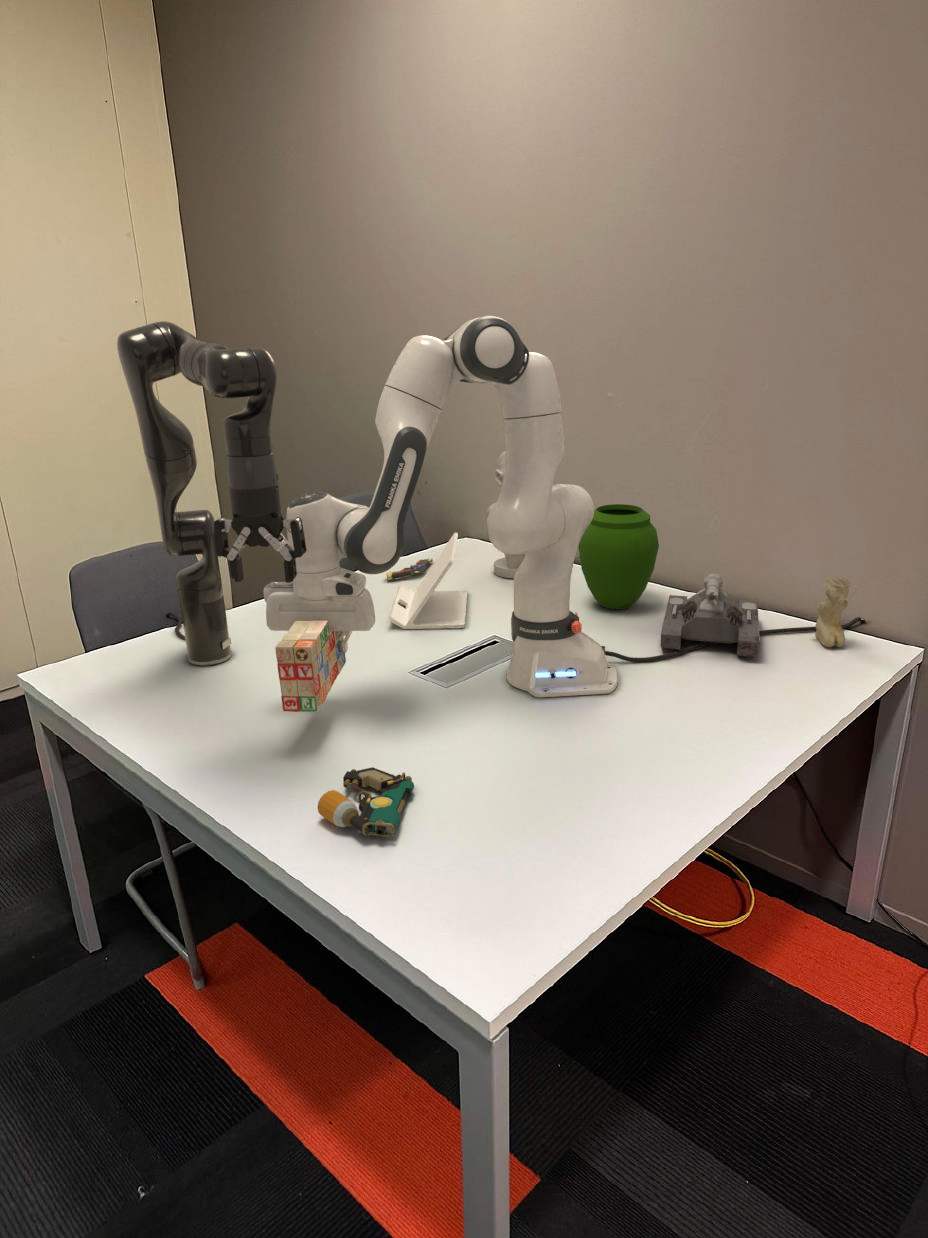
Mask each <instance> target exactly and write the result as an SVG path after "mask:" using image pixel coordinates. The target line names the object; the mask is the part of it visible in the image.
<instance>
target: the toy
mask: <svg viewBox="0 0 928 1238" xmlns="http://www.w3.org/2000/svg"><path fill="white" fill-rule="evenodd" d="M723 584H724V580H723V577H722V576H721V575H720V574H718V573H709V574H708V575H707V576H705V577H704V579H703V586H704V588H702V589H700V590H698V591H697V592H696V593H695V594H693V595H692V596H691V597H688V596H687V595H674V594H670V595H669V596H668V600H667V604H666V609H665V613H664V618H663V622H662V625H661V633H660V648H661V651H664V652H672V653H673V652H676V651H679V650H681V645H682V639H684V640H687V641H693V642H695V641H696V642H719V643H718V644H736V656H737V657H749V658H756V657H757V656H758V653H759V647H760V636H761V635H759V631H760V622H759V620H760V619H759V605H758V604H759V602H758V601H757V600H749V599H747V600H745V599H738V601H737V600H735V598H734V597H732V596H731V595H730V594H729V593H728V592H726V591H724V590H723V589H722V588H723Z"/></svg>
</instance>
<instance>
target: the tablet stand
mask: <svg viewBox="0 0 928 1238" xmlns="http://www.w3.org/2000/svg"><path fill="white" fill-rule="evenodd" d="M458 537H459V533H458V532H456V531H455V532H453V534H452V535H451V537H450V539H449V540H448V542H447V543H446V544H445V546H444V548H443V549H442V551H441V552H440V554H439V555H438V556H437V558H436V559H435V561H433V564H432V565H431V567H430V568H429V569H428V571H427V573H426V574H425V575H424V577H423V579H422V580H421V581H420V583H419V584H418V585H417V587H416V589H415V590H412V589H410V588H409V587H407V586H406V585H403V584H400V585H399V586H398V589H397V591H396V595H395V598H394V601H393V604H392V607H391V610H390V612H389V613H390V614H389V617H388V621H389V622H391V623H392V624H394V625H396V626H398V627H399V628H401V629H402V630H426V629H427V630H429V629H430V630H431V629H435V630H436V629H437V630H438V629H464V628H465V627H466V618H467V617H466V616H467V605H468V591H467V590H436V589H437V587H438V585H440V582H441V581H442V580H443V578H444V577H445V575H446V574H447V573H448V571H449V570H450V569H451V567H452V566H453V564H454V562H455V558H456V553H457V545H458ZM399 603H400V604H399ZM402 605H403V606H405V607H403V606H402Z"/></svg>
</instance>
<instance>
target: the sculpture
mask: <svg viewBox="0 0 928 1238" xmlns="http://www.w3.org/2000/svg"><path fill="white" fill-rule="evenodd" d="M826 581H827V586H826V588H825V590H824V593H825V595H826V596H827V598H826V600H824V601H822V602H821V603H820V604H819V605H818V606H817V609H816V610H817V612H818V614H819V616H818V617H817V619H816V623H815V627H816V630H817V631H815V634H814V635H815V639H817V640H819V642H820V643H821V644H822V645H823V646H825V647H827V648H832V647H834V646H835V647H843V646H844V645H845V643H846V642H845V641H846V636H845V632H844V629H842V627H841V625H842V624H841V622H840V621H841V617H842V615H843V612H844V610H845V609H846V608H847V606H848V604H849V603H848V602H849V601H847V598H848V597H849V592H850V586H851V585H852V582H850V580H848V579H847V578H845V577H841V576H840V577H835V578H831V577H827V578H826Z"/></svg>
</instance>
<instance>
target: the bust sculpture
mask: <svg viewBox="0 0 928 1238" xmlns="http://www.w3.org/2000/svg"><path fill="white" fill-rule="evenodd" d="M505 464H506V452H505V450H504V451H502V452H501V454H500V455H499V457H498V459H497V461H496V468H495V471H494V480H495V482H496V484H497V486H498V487H502V483H503V479H504V473H505ZM495 504H496V502H494V503H492V504H491V505H490V506H488V508H487V509H486V513H485V514H486V517H488V515H489V513H490V511H491V510H492V509H493V507H494V506H495ZM525 555H526V554H504V557H502V558H498V559H496V560H495V561H494V562H493V573H494V574H495V575H496V576H497V577H500V578H506V579H514V575H515V573H516V571H517V569H518V567H519V566H520V565H521V563H522V561H523V559H524V557H525Z"/></svg>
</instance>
